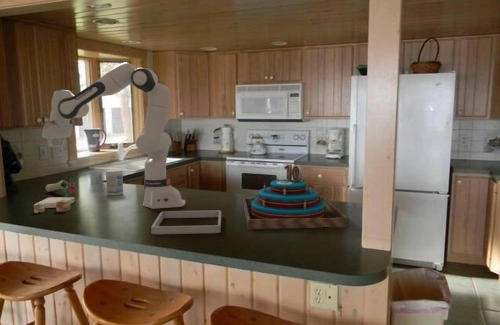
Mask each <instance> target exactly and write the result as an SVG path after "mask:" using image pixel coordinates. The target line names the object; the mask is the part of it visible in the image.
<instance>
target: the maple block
mask: <svg viewBox="0 0 500 325" xmlns="http://www.w3.org/2000/svg"><path fill="white" fill-rule="evenodd" d="M45 211H46V208H45V207H44V203H38V202H36V203H34V205H33V213H34V214H38V213H39V212H40V213H44V212H45Z"/></svg>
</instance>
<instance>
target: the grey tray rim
mask: <svg viewBox="0 0 500 325" xmlns="http://www.w3.org/2000/svg"><path fill="white" fill-rule="evenodd" d="M186 218H187V219H188V218H190V219H192V218H218V220H217V224H214V225H212V224H210V225H207V224H206V225H170V226H169V225H166V226H165V225H161V223H162V221H163V220H164V219H186ZM150 227H151V228H150V229H151V232H150V233H151V235H183V234H185V235H189V234H218V233H222V232H221V231H222V230H221V229H222V210H169V211H168V210H164V211H161V212H160V213H159V214H158V216H157V218H156V219H155V220H154V222H153V224H152V225H151V226H150Z"/></svg>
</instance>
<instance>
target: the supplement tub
mask: <svg viewBox="0 0 500 325" xmlns="http://www.w3.org/2000/svg"><path fill="white" fill-rule="evenodd" d="M123 176H124V175H123V169H108V170H106V171H105V181H106V182H105V183H106V194H107V195H108V196H121V195H122V194H124V181H123V179H124V177H123Z"/></svg>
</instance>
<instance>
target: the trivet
mask: <svg viewBox="0 0 500 325" xmlns="http://www.w3.org/2000/svg"><path fill="white" fill-rule="evenodd" d="M59 200H70V205H71V204H73V203H75V202H76V201H75V200H76V198H75V196H67V197H65V196H64V197H60V196H59V197H47V198H44V199H43V200H41V201H38V202H37V203H44V207H45V209H49V208H53V209H54V208H55V209H56V202H57V201H59Z"/></svg>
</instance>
